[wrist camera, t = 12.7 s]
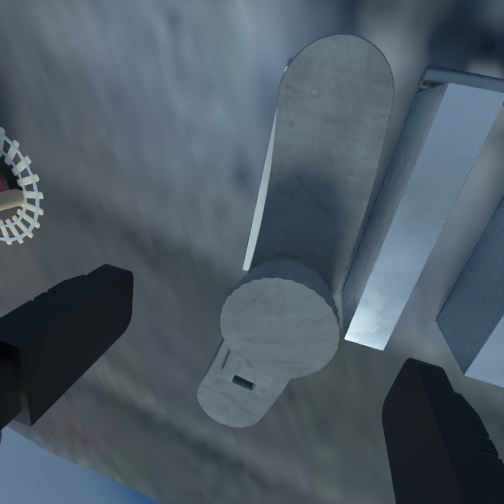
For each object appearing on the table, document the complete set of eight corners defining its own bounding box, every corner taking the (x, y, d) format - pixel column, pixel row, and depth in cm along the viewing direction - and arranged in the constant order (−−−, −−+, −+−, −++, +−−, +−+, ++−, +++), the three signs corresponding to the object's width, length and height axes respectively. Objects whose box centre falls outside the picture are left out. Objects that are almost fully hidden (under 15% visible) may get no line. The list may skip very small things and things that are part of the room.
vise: (622, 109, 21) (747, 104, 15) (479, 334, 29) (521, 392, 23) (417, 70, 23) (451, 51, 16) (336, 293, 31) (338, 336, 25)
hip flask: (318, 86, 24) (285, -20, 6) (369, 101, 24) (500, 36, 6) (261, 263, 31) (167, 462, 13) (301, 277, 30) (261, 503, 12)
